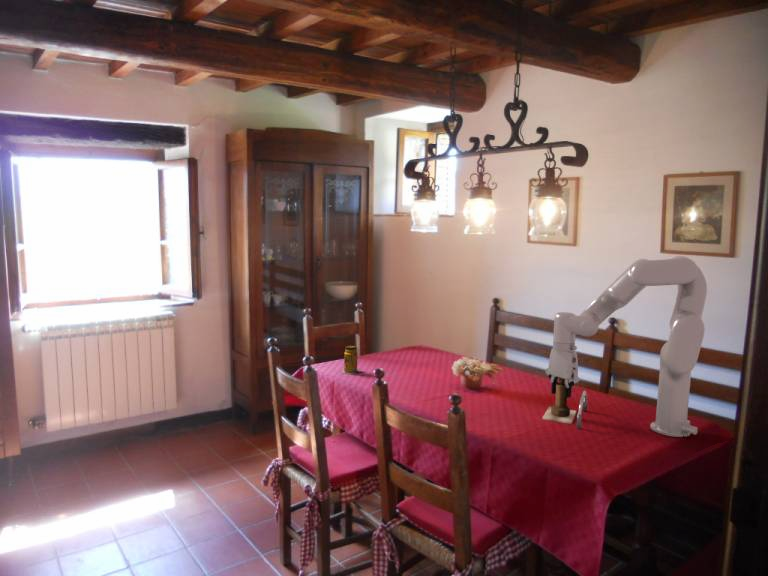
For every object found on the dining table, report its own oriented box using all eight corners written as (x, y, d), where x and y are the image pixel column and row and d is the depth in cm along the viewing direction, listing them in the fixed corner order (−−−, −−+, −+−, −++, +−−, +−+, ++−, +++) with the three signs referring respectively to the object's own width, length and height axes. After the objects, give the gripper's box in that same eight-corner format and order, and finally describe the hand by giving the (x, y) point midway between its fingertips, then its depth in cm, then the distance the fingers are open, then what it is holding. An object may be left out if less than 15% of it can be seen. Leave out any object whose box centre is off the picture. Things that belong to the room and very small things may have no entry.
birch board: (576, 412, 216) (576, 410, 216) (571, 423, 203) (571, 422, 203) (548, 408, 220) (548, 406, 220) (542, 419, 207) (542, 417, 207)
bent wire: (586, 410, 218) (588, 386, 217) (580, 429, 198) (582, 402, 197) (583, 410, 218) (584, 385, 217) (576, 428, 199) (577, 401, 198)
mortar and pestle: (547, 413, 211) (550, 365, 210) (556, 410, 216) (558, 362, 215) (564, 417, 207) (567, 368, 205) (572, 414, 211) (575, 365, 210)
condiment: (340, 371, 266) (340, 346, 265) (354, 368, 272) (354, 343, 270) (350, 375, 261) (350, 349, 259) (364, 372, 267) (364, 346, 265)
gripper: (590, 350, 204) (587, 400, 206) (552, 341, 218) (549, 388, 220) (576, 352, 199) (573, 403, 202) (538, 343, 213) (535, 391, 216)
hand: (561, 394), depth 211 cm, fingers open, 5 cm apart
